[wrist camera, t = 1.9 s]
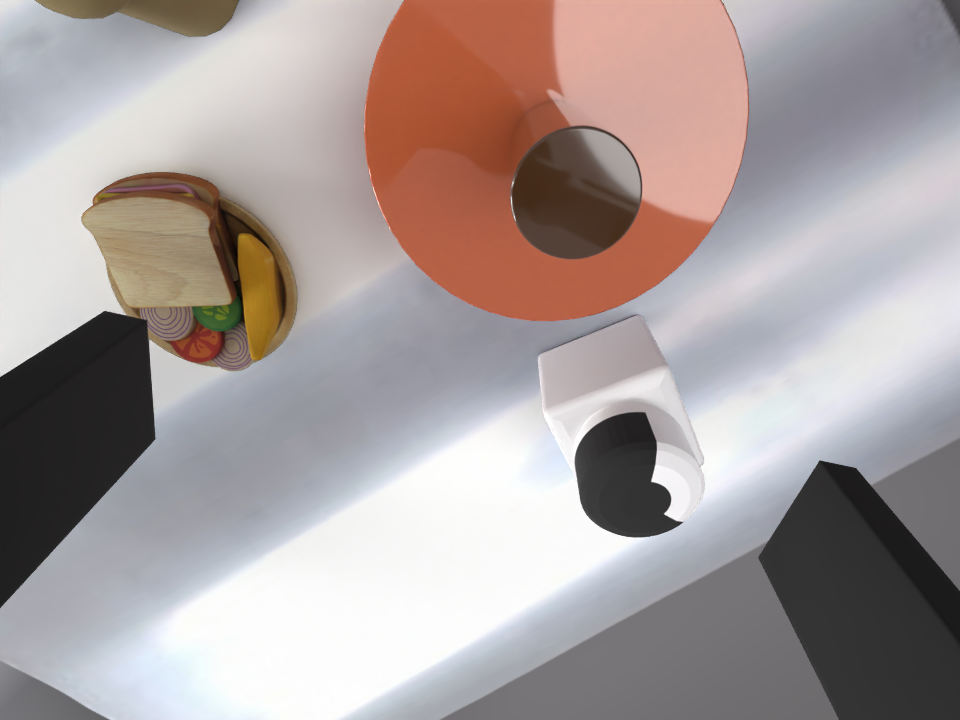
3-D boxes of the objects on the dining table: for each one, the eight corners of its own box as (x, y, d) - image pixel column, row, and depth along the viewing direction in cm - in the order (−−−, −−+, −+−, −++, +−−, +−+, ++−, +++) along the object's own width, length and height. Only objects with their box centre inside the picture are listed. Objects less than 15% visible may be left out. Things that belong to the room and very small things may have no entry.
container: (575, 435, 44) (600, 570, 32) (535, 353, 40) (546, 472, 29) (675, 399, 42) (738, 530, 30) (640, 311, 39) (697, 419, 27)
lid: (307, 10, 22) (174, -19, 14) (711, -158, 20) (883, -337, 11) (442, 347, 29) (415, 476, 20) (757, 258, 26) (886, 363, 17)
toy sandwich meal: (136, 350, 42) (94, 383, 37) (94, 157, 35) (38, 171, 31) (306, 368, 42) (284, 403, 38) (296, 178, 35) (267, 195, 31)
